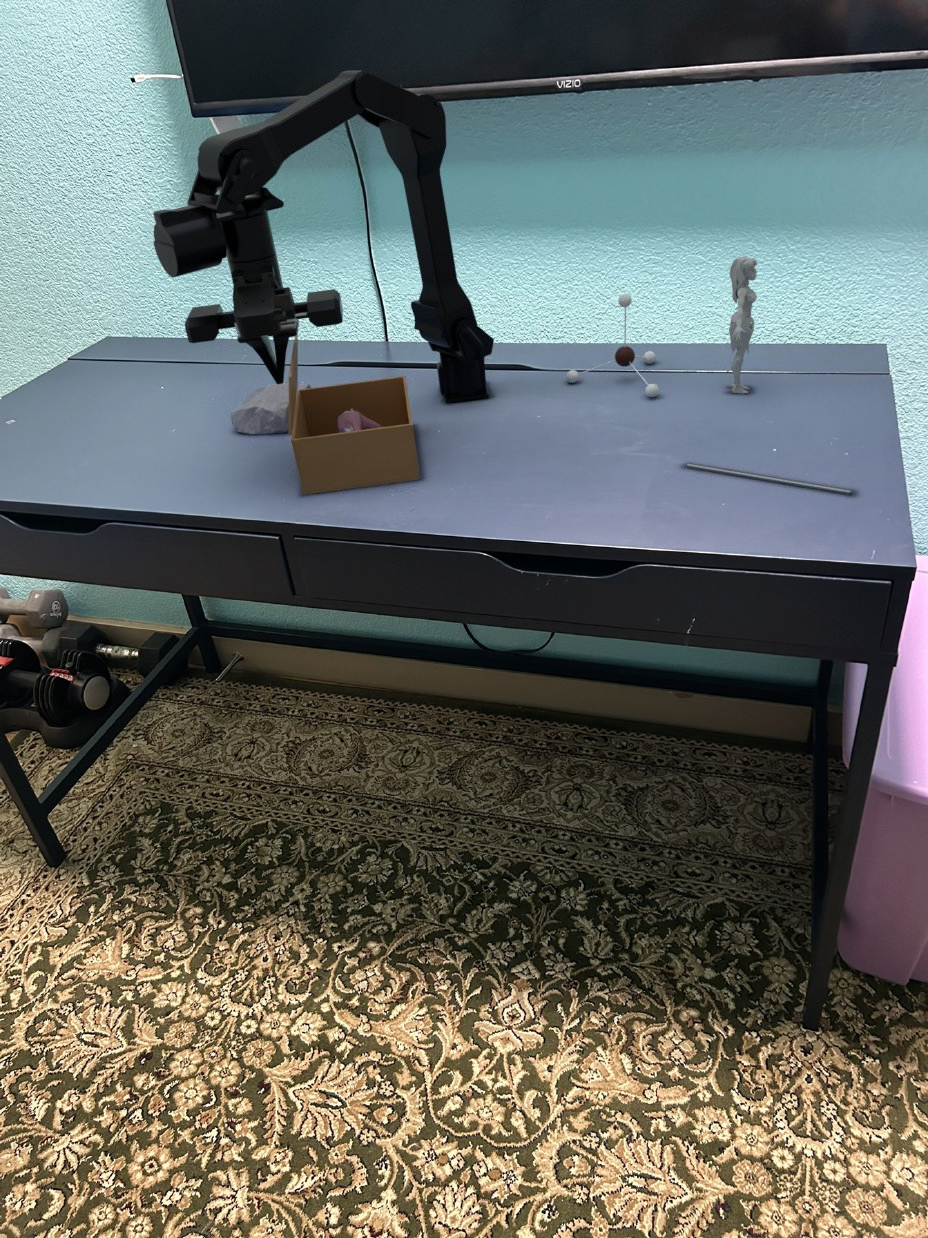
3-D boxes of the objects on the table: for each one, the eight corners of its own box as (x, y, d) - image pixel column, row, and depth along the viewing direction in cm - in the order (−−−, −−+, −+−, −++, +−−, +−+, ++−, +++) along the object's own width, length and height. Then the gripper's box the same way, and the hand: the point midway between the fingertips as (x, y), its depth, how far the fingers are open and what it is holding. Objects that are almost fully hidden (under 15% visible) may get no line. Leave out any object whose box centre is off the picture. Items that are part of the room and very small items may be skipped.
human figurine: (746, 407, 121) (759, 269, 111) (717, 407, 122) (727, 270, 112) (750, 374, 130) (762, 244, 120) (723, 374, 131) (733, 245, 121)
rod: (850, 497, 100) (852, 491, 100) (686, 469, 109) (686, 464, 109) (852, 495, 100) (853, 489, 100) (688, 467, 109) (688, 462, 109)
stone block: (233, 445, 131) (292, 432, 128) (219, 414, 129) (280, 400, 125) (264, 415, 141) (321, 402, 137) (252, 386, 138) (309, 372, 135)
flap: (291, 376, 104) (288, 376, 104) (291, 435, 108) (288, 435, 108) (297, 331, 117) (295, 331, 117) (297, 385, 121) (295, 385, 121)
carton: (420, 479, 113) (412, 424, 109) (303, 495, 112) (290, 440, 108) (412, 426, 127) (405, 375, 122) (307, 440, 126) (297, 389, 122)
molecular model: (564, 381, 135) (561, 296, 127) (651, 360, 139) (653, 276, 131) (608, 411, 124) (608, 320, 117) (701, 387, 128) (706, 297, 121)
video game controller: (361, 450, 124) (330, 410, 120) (388, 432, 123) (358, 392, 119) (362, 482, 116) (329, 441, 112) (391, 464, 115) (358, 421, 111)
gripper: (161, 284, 99) (199, 417, 108) (329, 263, 99) (353, 396, 109) (176, 259, 108) (210, 383, 117) (331, 239, 108) (352, 365, 118)
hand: (280, 382), depth 115 cm, fingers closed
